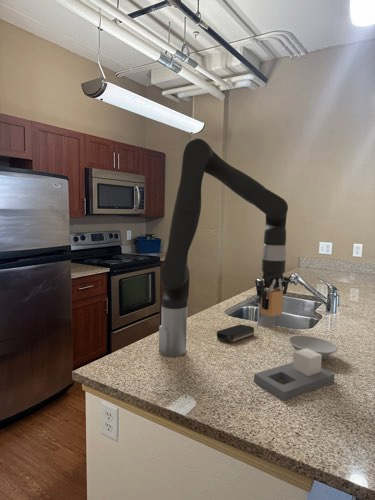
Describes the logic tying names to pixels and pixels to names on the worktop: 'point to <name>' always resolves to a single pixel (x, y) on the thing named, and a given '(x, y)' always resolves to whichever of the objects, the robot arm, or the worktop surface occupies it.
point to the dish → (312, 344)
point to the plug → (273, 303)
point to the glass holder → (263, 316)
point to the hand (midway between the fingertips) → (271, 307)
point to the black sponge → (235, 333)
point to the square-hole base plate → (295, 375)
